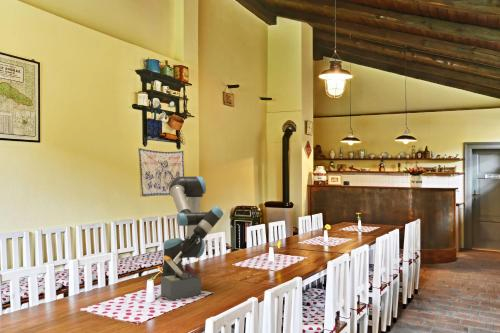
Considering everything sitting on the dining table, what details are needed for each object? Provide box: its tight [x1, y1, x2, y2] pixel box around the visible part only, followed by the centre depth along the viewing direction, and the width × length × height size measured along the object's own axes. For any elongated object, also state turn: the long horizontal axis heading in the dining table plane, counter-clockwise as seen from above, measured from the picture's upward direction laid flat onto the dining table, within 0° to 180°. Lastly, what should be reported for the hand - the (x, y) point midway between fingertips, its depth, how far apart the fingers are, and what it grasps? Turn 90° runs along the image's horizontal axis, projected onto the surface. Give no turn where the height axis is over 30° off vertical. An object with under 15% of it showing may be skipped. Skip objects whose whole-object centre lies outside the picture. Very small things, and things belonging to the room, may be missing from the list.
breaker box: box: [160, 272, 202, 301], centre depth 246 cm, size 13×18×13 cm
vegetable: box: [184, 263, 198, 276], centre depth 267 cm, size 10×10×15 cm
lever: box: [162, 255, 183, 277], centre depth 244 cm, size 7×2×14 cm
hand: (174, 262), depth 244 cm, fingers closed
